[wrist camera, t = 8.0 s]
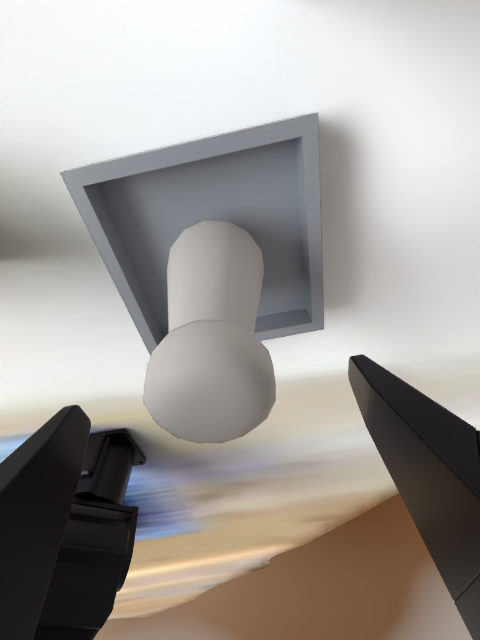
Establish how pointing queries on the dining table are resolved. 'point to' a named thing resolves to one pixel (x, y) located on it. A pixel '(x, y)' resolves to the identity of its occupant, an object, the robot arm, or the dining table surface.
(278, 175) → the bin
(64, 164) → the dining table surface
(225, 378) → the salt shaker
